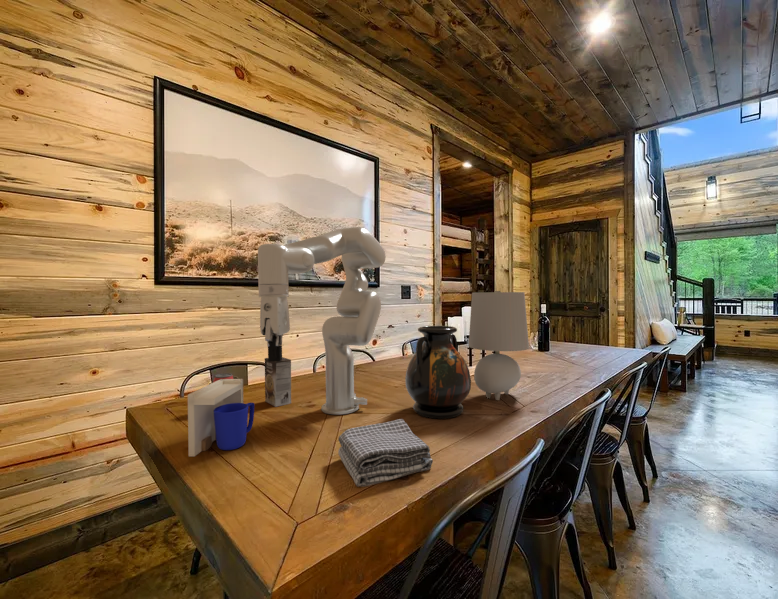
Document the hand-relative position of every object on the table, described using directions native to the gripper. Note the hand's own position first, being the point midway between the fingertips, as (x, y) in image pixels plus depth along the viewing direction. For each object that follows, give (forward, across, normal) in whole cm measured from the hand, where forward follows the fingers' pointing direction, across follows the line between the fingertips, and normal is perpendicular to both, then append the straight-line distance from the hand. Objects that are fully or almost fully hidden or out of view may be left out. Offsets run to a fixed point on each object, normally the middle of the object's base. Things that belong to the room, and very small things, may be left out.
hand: (275, 360), depth 92 cm
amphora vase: (+22, +24, -46) cm, 56 cm away
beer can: (+22, +27, +27) cm, 44 cm away
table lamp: (+22, +40, -71) cm, 84 cm away
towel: (+22, -13, -29) cm, 39 cm away
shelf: (+22, 0, +15) cm, 26 cm away
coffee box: (+22, +35, +11) cm, 43 cm away
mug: (+22, -1, +10) cm, 24 cm away
